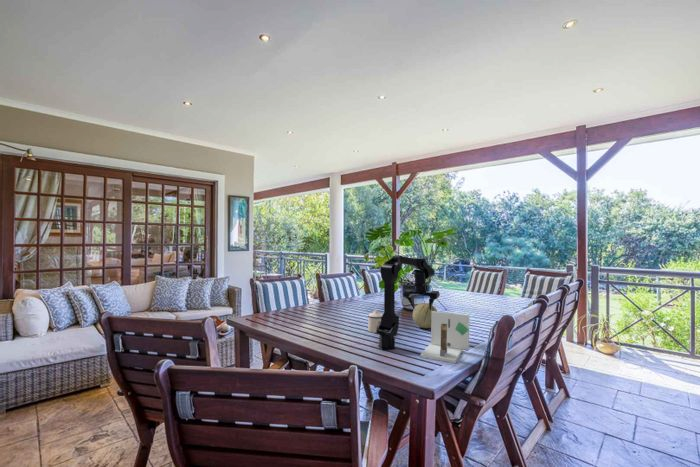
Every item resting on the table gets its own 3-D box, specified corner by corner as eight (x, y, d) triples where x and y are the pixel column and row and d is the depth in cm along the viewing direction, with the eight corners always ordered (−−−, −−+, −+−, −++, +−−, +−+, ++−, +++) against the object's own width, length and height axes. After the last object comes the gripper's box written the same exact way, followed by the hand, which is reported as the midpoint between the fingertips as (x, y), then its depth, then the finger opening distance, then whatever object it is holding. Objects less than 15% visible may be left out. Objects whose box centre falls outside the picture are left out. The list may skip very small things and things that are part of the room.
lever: (440, 353, 152) (440, 324, 153) (442, 351, 155) (442, 323, 156) (445, 354, 151) (445, 325, 152) (446, 352, 155) (447, 323, 155)
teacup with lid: (378, 334, 189) (379, 312, 189) (364, 331, 194) (365, 310, 194) (389, 329, 198) (389, 309, 199) (375, 327, 204) (376, 307, 204)
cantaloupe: (407, 327, 204) (407, 302, 204) (421, 323, 214) (421, 299, 215) (429, 332, 194) (429, 305, 194) (442, 328, 204) (443, 302, 204)
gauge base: (420, 357, 153) (421, 318, 153) (430, 345, 170) (431, 310, 170) (462, 364, 145) (463, 323, 145) (469, 351, 162) (469, 314, 162)
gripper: (441, 278, 188) (443, 306, 189) (409, 277, 197) (411, 303, 199) (435, 283, 178) (437, 312, 180) (401, 281, 188) (403, 309, 189)
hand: (422, 309), depth 187 cm, fingers open, 9 cm apart
